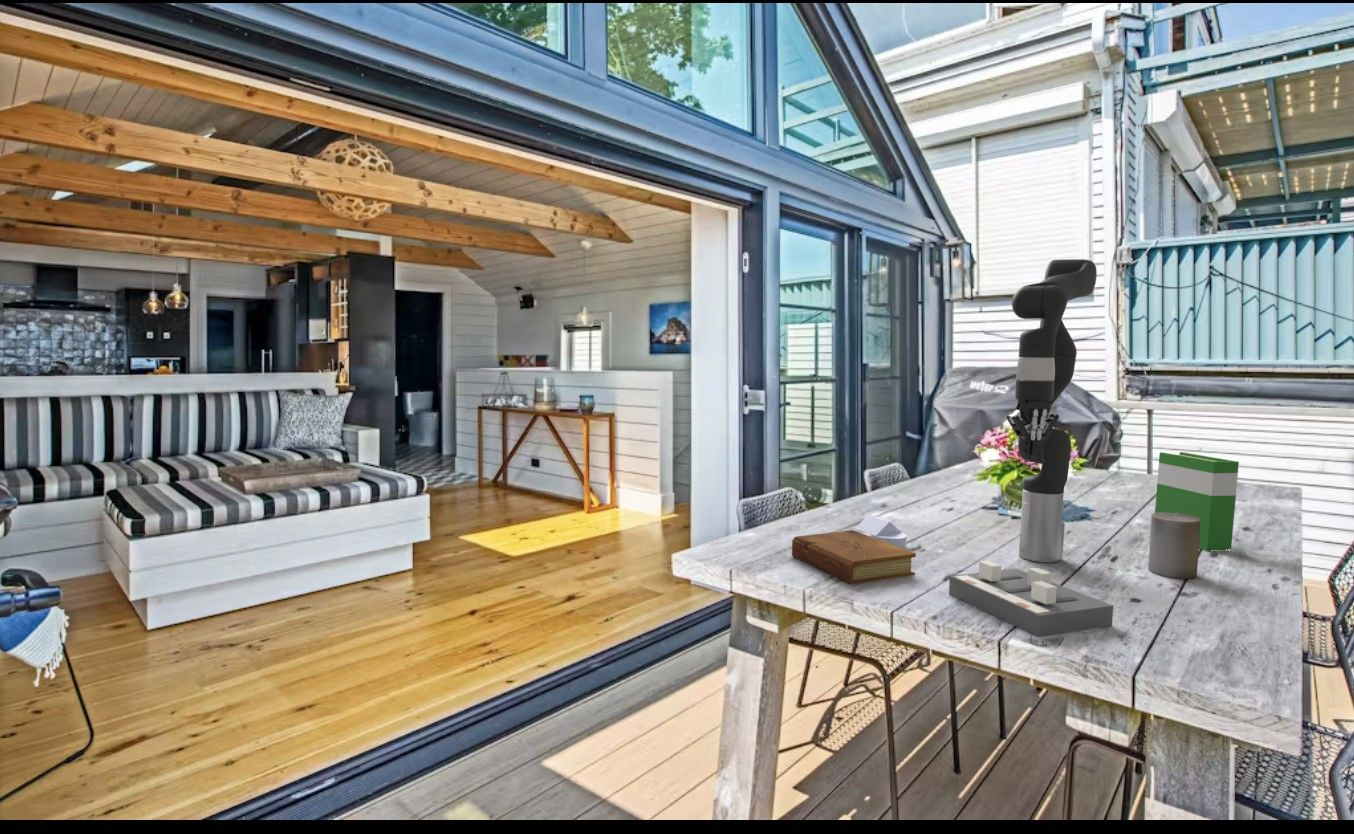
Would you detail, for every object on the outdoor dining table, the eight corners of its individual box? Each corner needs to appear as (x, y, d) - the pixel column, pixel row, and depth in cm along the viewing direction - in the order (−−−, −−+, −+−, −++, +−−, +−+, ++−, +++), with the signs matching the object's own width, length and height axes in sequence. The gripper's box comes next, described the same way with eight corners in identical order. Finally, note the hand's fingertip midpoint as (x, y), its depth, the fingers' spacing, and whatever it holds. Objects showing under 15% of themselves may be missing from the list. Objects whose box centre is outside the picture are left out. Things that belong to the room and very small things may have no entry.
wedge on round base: (854, 540, 197) (886, 552, 185) (855, 516, 196) (887, 527, 184) (880, 537, 201) (913, 549, 189) (881, 513, 200) (914, 524, 188)
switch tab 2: (1036, 582, 148) (1037, 567, 148) (1050, 588, 145) (1051, 573, 144) (1027, 584, 147) (1028, 568, 147) (1041, 589, 144) (1042, 574, 144)
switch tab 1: (987, 575, 153) (988, 560, 153) (1000, 580, 149) (1001, 565, 149) (978, 576, 152) (979, 561, 152) (991, 581, 149) (992, 566, 148)
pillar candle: (1194, 571, 173) (1198, 509, 172) (1199, 581, 164) (1203, 517, 163) (1146, 565, 178) (1150, 505, 177) (1148, 575, 169) (1152, 512, 168)
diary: (791, 559, 180) (792, 536, 180) (851, 551, 188) (852, 530, 187) (850, 586, 159) (850, 561, 159) (914, 576, 167) (915, 552, 167)
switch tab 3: (1040, 597, 140) (1041, 580, 139) (1055, 603, 136) (1056, 586, 136) (1030, 598, 139) (1031, 582, 139) (1045, 604, 135) (1046, 588, 135)
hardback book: (1153, 534, 208) (1159, 452, 206) (1175, 533, 209) (1182, 452, 207) (1206, 551, 191) (1214, 462, 188) (1231, 550, 192) (1238, 461, 189)
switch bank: (1015, 586, 160) (1016, 567, 159) (1111, 625, 137) (1113, 604, 137) (948, 594, 154) (949, 575, 154) (1038, 636, 131) (1039, 614, 131)
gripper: (1044, 377, 163) (1040, 453, 165) (998, 377, 159) (994, 455, 160) (1072, 378, 156) (1067, 457, 158) (1024, 379, 152) (1020, 460, 153)
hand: (1030, 456), depth 159 cm, fingers closed
